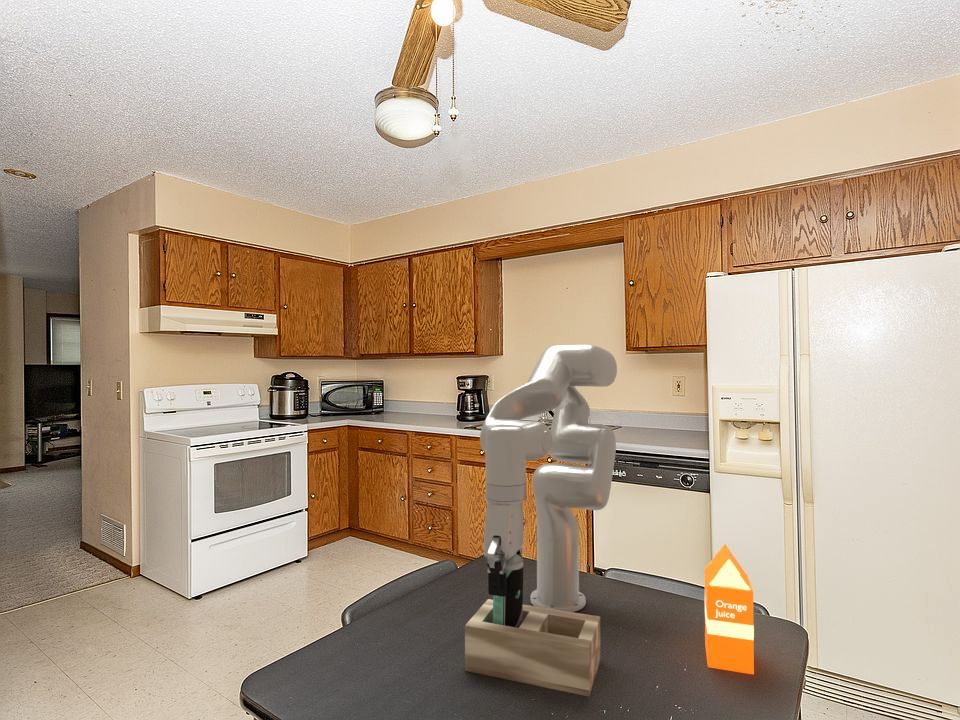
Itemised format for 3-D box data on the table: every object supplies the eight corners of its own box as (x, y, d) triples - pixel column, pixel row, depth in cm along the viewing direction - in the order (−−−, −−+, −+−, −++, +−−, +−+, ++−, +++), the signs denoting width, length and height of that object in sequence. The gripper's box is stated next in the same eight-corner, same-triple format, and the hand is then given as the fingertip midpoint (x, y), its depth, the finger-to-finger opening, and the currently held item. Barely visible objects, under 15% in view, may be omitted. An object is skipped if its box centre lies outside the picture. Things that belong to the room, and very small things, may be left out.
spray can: (519, 663, 99) (521, 551, 99) (489, 659, 100) (491, 548, 101) (523, 648, 105) (525, 541, 105) (495, 644, 106) (497, 539, 106)
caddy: (488, 639, 110) (488, 598, 110) (600, 660, 102) (600, 616, 102) (465, 670, 99) (464, 625, 99) (589, 696, 91) (588, 647, 91)
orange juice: (748, 650, 106) (747, 545, 106) (754, 674, 97) (753, 560, 97) (704, 643, 108) (703, 540, 108) (706, 667, 100) (705, 555, 100)
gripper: (501, 481, 112) (501, 566, 112) (469, 501, 96) (469, 600, 96) (537, 484, 109) (537, 571, 109) (510, 504, 93) (511, 607, 93)
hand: (506, 584), depth 103 cm, fingers open, 9 cm apart
